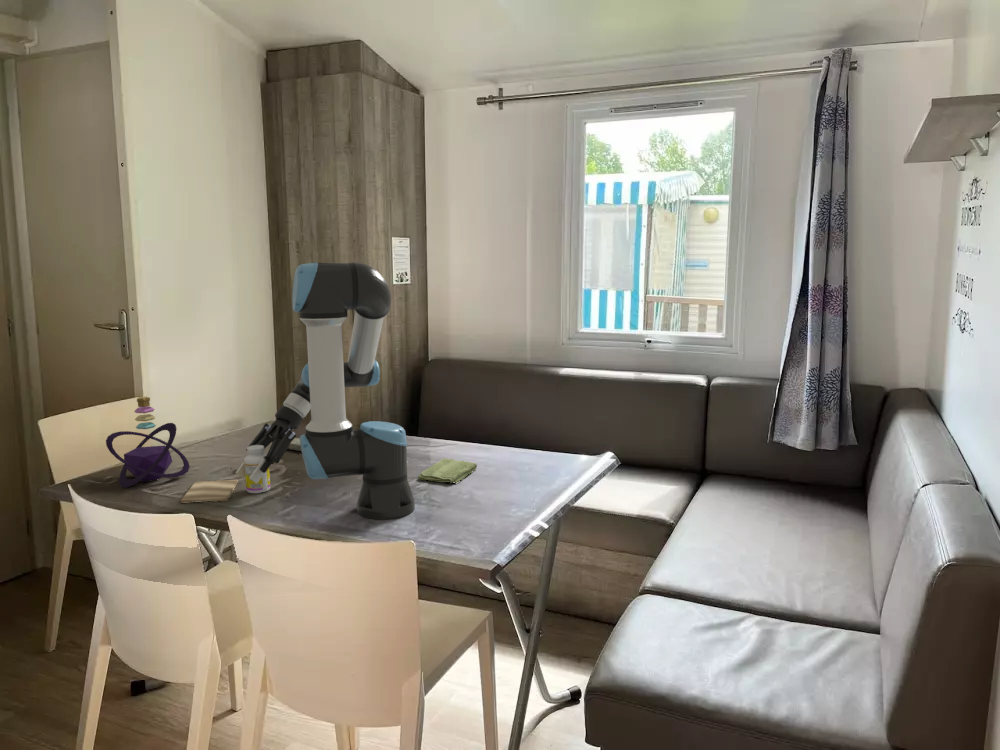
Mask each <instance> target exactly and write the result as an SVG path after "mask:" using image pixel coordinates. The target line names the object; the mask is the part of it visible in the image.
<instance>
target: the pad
mask: <svg viewBox="0 0 1000 750" xmlns="http://www.w3.org/2000/svg"><path fill="white" fill-rule="evenodd" d="M237 483H238V484H239V480H238V479H226V480H224V479H223V480H208V481H206V480H205V481H194V483H193V484H192V485H191V487H190V488H189V489H188V491H186V493H185V494H184V495H183V497H182V498H181V500H180V504H181V503H184V502H192V501H193V502H195V501H201V502H202V501H221V502H227V501H226V500H228V501H229V499H230V498H231V496H232V494H233V493H234V491H235V489H236V488H237V486H238V484H237ZM236 485H237V486H236ZM235 487H236V488H235ZM234 488H235V489H234ZM233 490H234V491H233ZM232 492H233V493H232ZM231 493H232V494H231ZM230 495H231V496H230ZM228 498H229V499H228Z"/></svg>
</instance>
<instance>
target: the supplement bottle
mask: <svg viewBox="0 0 1000 750" xmlns="http://www.w3.org/2000/svg"><path fill="white" fill-rule="evenodd" d="M248 446H249V445H248ZM248 446H247V447H246V449H247V451H246V453H247V455H246V456H245V457H244V458H243V459H244V460H243V461H244V466H245V477H244V478H245V489H246V492H247V493H248V494H249V493H250V494H262V492H263V493H266V492H268V491H269V490H270V489H271V476H270V475H271V474H270V472H271V471H270V467H269V468H268V470H267V471H266V472H265V473H264V475H263V476H262V477H261V479H260V480H259V482H258V483H257V484H256V483H255V482H253V481H252V480H251V479H249V478H250V476H251V475H252V473H253V472H254V470H255V469H256V468H257V466H258V465H259V463H260V462H261V461H262V459H264V457H265V456H267V454H266V453H265V449H264V446H263V445H253V446H249V447H248ZM265 460H266V459H265Z"/></svg>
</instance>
